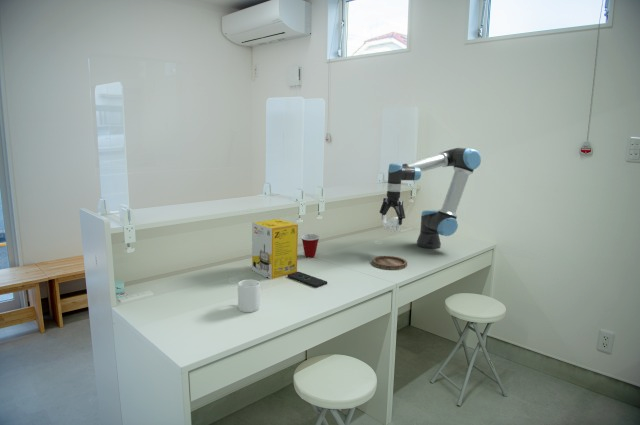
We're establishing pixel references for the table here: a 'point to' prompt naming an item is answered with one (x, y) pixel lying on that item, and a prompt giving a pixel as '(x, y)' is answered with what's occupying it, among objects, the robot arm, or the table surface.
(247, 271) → the table surface
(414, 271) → the table surface
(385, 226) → the white piece
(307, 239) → the plastic cup
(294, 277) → the smart home device
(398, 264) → the coaster
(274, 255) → the packaging box
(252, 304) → the mug
